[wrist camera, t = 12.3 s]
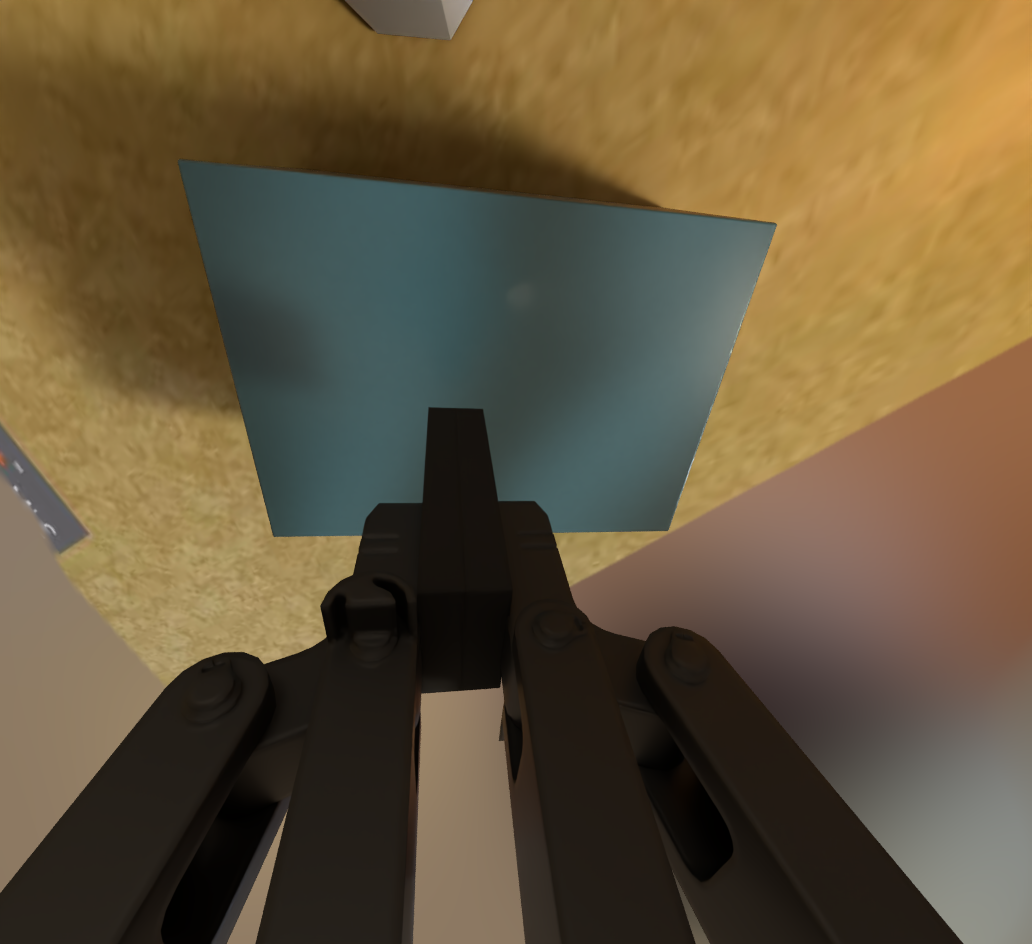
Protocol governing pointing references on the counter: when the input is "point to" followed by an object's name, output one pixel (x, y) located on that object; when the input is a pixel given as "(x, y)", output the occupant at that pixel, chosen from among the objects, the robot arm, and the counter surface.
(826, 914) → the robot arm
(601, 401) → the lid
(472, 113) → the counter surface
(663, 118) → the counter surface
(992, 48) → the counter surface
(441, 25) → the flask
